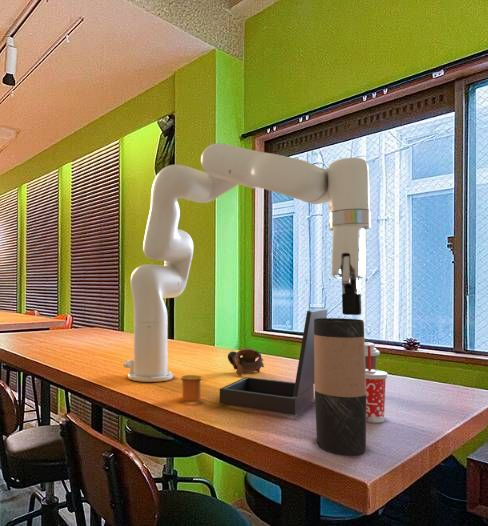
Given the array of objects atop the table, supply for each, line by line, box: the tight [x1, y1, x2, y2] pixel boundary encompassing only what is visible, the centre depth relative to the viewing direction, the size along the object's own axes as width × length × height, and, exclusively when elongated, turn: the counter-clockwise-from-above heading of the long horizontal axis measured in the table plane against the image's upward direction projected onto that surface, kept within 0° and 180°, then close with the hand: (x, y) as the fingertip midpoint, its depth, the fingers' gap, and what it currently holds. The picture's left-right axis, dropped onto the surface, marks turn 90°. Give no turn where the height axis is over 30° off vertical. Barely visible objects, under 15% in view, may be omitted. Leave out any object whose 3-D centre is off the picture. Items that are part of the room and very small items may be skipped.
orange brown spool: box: [180, 374, 203, 402], centre depth 96 cm, size 5×5×6 cm
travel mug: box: [314, 317, 367, 456], centre depth 70 cm, size 8×8×20 cm
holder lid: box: [293, 307, 329, 397], centre depth 90 cm, size 17×15×1 cm
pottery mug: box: [227, 348, 265, 378], centre depth 128 cm, size 12×10×8 cm
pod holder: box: [219, 376, 315, 416], centre depth 94 cm, size 16×15×4 cm
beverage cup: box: [366, 345, 388, 424], centre depth 85 cm, size 6×6×14 cm
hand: (351, 314), depth 86 cm, fingers closed
